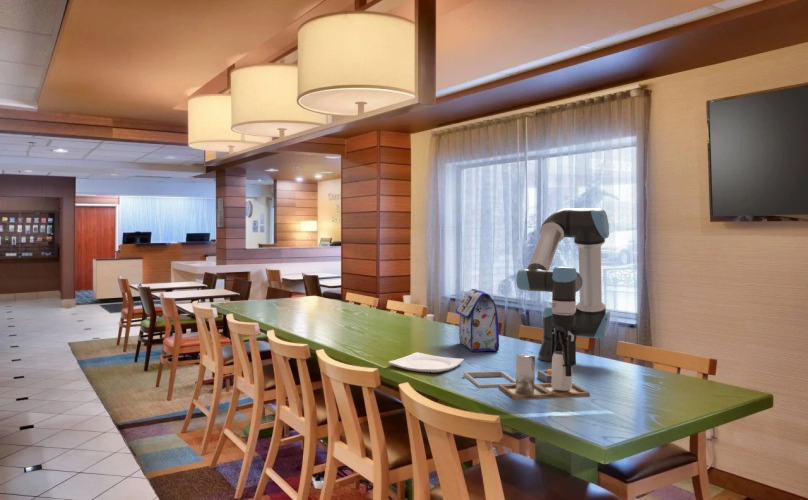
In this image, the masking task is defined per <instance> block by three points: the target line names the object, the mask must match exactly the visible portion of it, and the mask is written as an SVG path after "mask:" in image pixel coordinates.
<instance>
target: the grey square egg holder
mask: <svg viewBox="0 0 808 500" xmlns="http://www.w3.org/2000/svg"><path fill="white" fill-rule="evenodd" d="M537 379H539V380H541V381H543V383H552V375H549V374H547V369H545V370H544V369H542V370H537Z"/></svg>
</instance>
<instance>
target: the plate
mask: <svg viewBox="0 0 808 500" xmlns="http://www.w3.org/2000/svg"><path fill="white" fill-rule="evenodd" d="M464 360H465V359H464V358H456V357H447V356H439V355H432V354H427V353H422V352H418V351H417V352H416V351H415V352H413V353H411V354H409V355H406V356H403V357H400V358H397V359H394V360H388V364H390V365H391V366H393V367H397V368H399V369H404V370H408V371H412V372H418V373H419V372H420V373H430V372H431V373H433V374H434V373H441V372H445V371H450V370H452V369H454V368H456V367H458V366H459V365H460V364H461V363H462V362H463V361H464ZM431 373H430V374H431Z"/></svg>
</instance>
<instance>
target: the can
mask: <svg viewBox="0 0 808 500" xmlns="http://www.w3.org/2000/svg"><path fill="white" fill-rule="evenodd" d="M562 365H564V357H563V351H555V352H554V354H553V356H552V362H551V369H552V388H553V389H554V390H558V391H569V390H571V389H572V383H573V375H572V376H571V386H562V385H563V366H562Z"/></svg>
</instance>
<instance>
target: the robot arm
mask: <svg viewBox="0 0 808 500" xmlns="http://www.w3.org/2000/svg"><path fill="white" fill-rule="evenodd" d="M609 236H610V225H609V218H608V213H606V211H605V210H604V209H602V208H595V207H591V208H590V207H587V208H586V207H585V208H583V207H582V208H562V209H559V210H558V211H555V212H553V213H552V214H550V215H549V216H548V217H547V218H546V219H545V220H544V221H543V222H542V224H541V226H540V228H539V238H538V240H537V243H536V245H535V248H534V250H533V253H532V256H531V258H530V260H529V263H528V266H527V268H524V269H523V268H522V269H519V270H518V271H517V273H516V281H515V282H516V287H517V288H518V290H521V291H528V292H545V293H546V292H548V293H551V294H552V296H551V298H552V299H551V301H552V302H551V304H550V305H547V306H545V307H544V309H543V316H542V319H543V321H542V342H541V345H540V347H539V350H538V353H537V354H538V355H537V358H538V359H539V360H541V361H544V362H549V363H552V356H553V354H554V352H555V351H563V357H564V365H562V366H563V385H562V386H571V376H572V377H573V366H576V365H577V362H576V361H577V356H576V355H577V353H576V350H577V348H576V347H577V343H576V342H577V337H578V338H579V337H581V338H588V339H591V338H592V339H604V338H606V336H607V333H608V329H609V325H610V324H609V323H610V316H611V311H609V310H608V309H607V310H606V304H604V302H602V301H603V299H602V297H603V296H602V292H603V291H602V246H603V245H604V244H605V242H606V239H608V238H609ZM565 238H571V239H572V238H573V240H574V241H573V242H574V244H575V245H577V248H578V250H577V251H578V272H577V269H576V267H574V266H554V267H553V269H552V270H550V267H551V265H552V263H553V260H554V257H555V254H556V252H557V248H558V246H559V243H560V242H561V241H563V239H565ZM578 291H579V302H577V301H576V299H577V297H576V296H577V292H578ZM576 303H577V304H576Z"/></svg>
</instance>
